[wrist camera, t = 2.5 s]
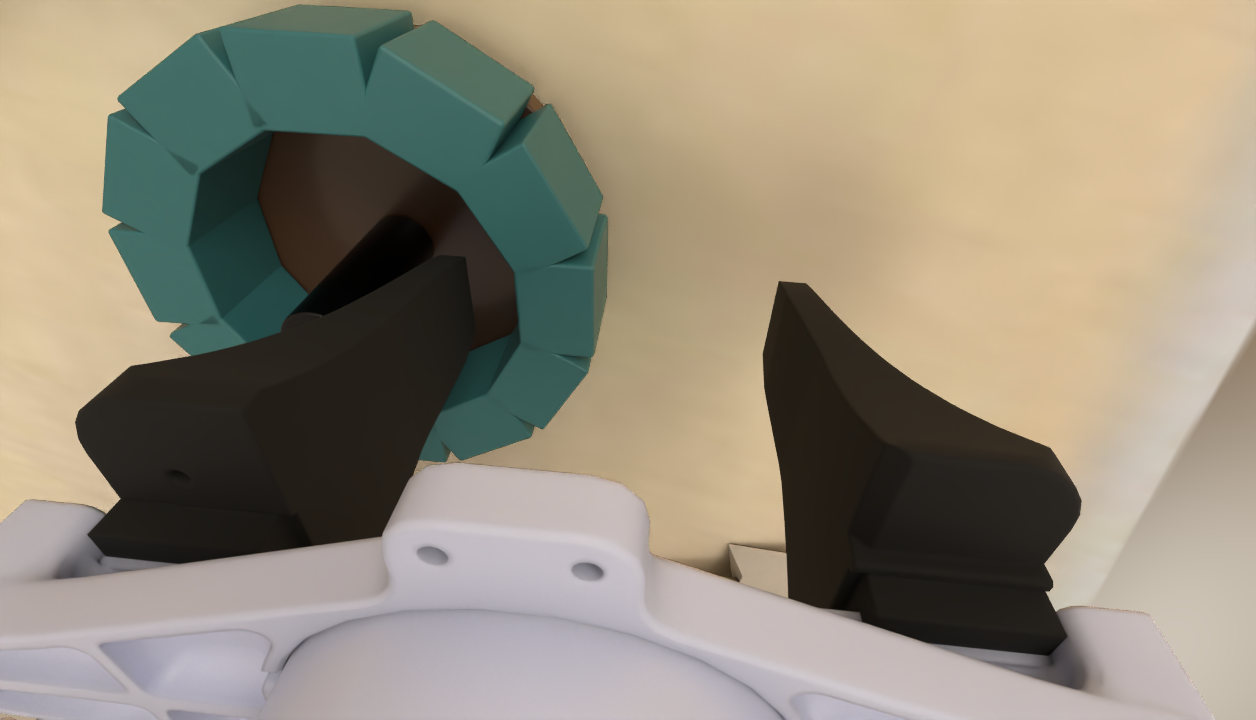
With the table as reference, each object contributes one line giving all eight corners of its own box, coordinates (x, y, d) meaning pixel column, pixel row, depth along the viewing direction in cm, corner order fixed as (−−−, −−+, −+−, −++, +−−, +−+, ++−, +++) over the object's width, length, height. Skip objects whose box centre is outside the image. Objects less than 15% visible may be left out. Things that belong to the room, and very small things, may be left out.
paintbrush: (999, 674, 23) (497, 644, 27) (976, 606, 25) (515, 587, 29) (1024, 620, 20) (470, 596, 24) (996, 549, 22) (491, 538, 26)
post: (452, 420, 21) (390, 554, 17) (161, 209, 17) (-18, 317, 13) (678, 248, 16) (672, 375, 12) (350, -104, 12) (163, -101, 8)
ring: (503, 444, 21) (480, 510, 19) (168, 285, 18) (93, 340, 16) (691, 189, 15) (691, 242, 12) (228, -119, 12) (119, -121, 9)
